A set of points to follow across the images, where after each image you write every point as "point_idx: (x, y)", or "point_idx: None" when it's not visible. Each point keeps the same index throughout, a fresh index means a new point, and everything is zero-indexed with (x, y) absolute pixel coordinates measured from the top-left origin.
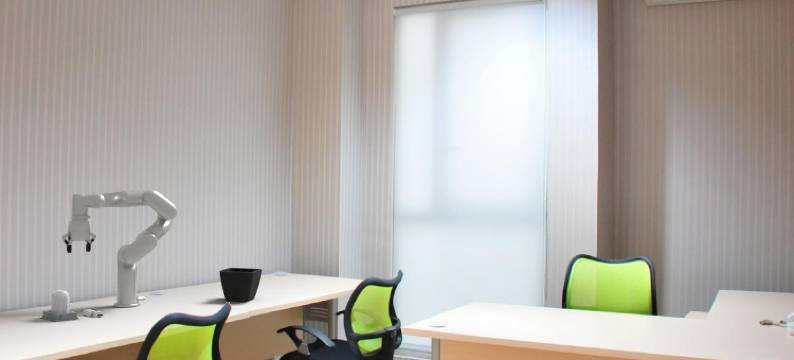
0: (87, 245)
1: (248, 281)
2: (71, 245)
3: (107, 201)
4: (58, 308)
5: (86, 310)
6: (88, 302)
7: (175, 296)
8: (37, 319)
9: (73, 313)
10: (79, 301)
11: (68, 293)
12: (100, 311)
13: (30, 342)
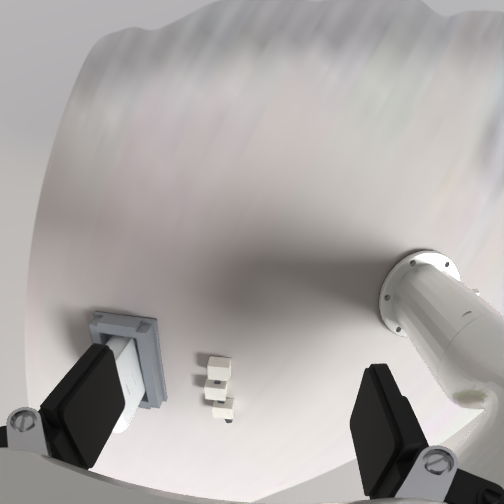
0: (376, 459)
1: None
2: (89, 467)
3: None
4: None
5: (209, 378)
6: (382, 105)
7: None
8: (83, 322)
9: (148, 408)
10: (369, 54)
11: (118, 432)
12: (230, 417)
13: None
